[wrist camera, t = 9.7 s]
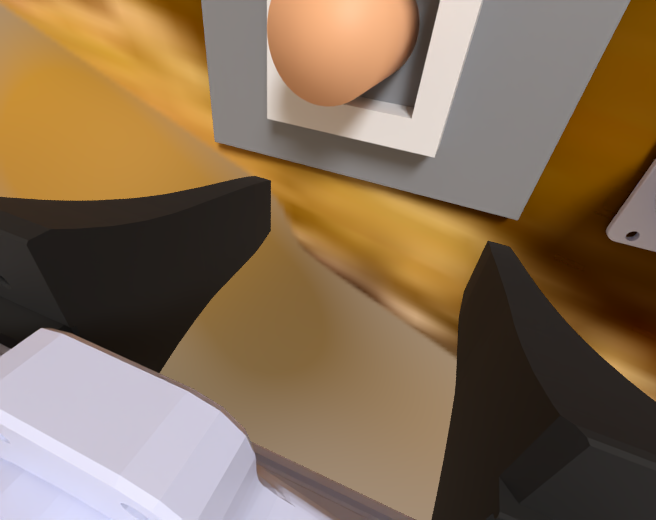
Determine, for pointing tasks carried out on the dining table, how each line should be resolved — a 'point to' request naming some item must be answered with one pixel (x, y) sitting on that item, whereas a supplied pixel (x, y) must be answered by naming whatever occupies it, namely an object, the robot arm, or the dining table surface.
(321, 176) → the dining table surface
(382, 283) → the dining table surface
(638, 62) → the dining table surface
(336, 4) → the peach rounded egg part
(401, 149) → the dock board
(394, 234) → the dining table surface
